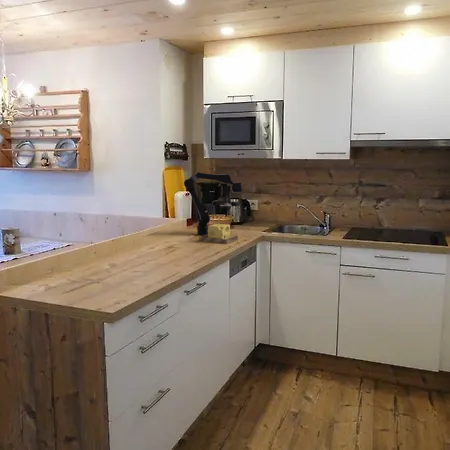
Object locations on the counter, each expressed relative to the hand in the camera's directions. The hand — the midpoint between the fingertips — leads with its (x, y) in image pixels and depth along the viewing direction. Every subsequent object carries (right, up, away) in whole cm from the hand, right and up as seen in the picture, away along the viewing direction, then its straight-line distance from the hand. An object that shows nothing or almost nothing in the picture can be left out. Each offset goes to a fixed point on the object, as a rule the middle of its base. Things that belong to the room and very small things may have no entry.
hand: (226, 216), depth 298 cm
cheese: (-5, -16, -22) cm, 28 cm away
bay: (-5, -16, -20) cm, 26 cm away
